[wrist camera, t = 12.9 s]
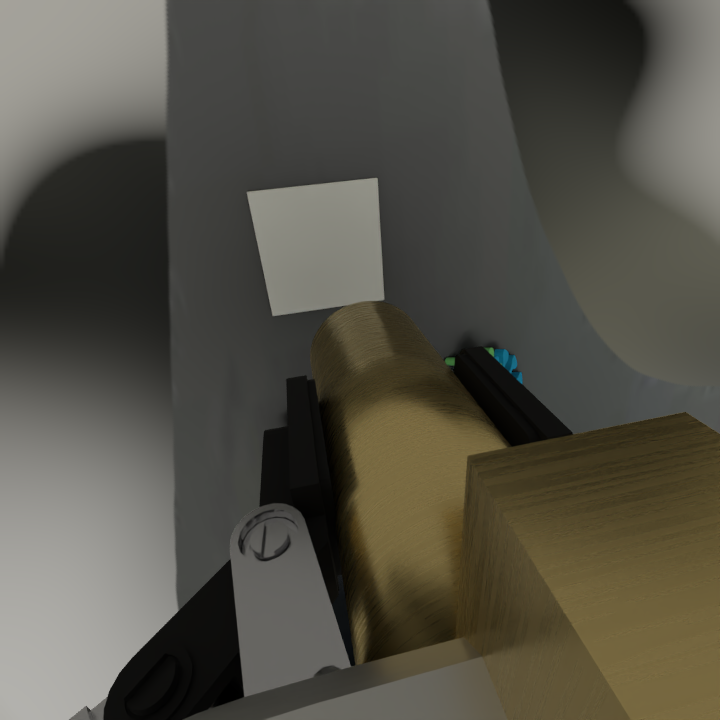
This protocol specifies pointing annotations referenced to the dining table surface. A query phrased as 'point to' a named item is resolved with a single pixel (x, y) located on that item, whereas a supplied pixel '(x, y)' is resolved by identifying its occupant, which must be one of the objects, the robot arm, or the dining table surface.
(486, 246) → the dining table surface
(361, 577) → the door handle
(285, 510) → the robot arm
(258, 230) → the mat
